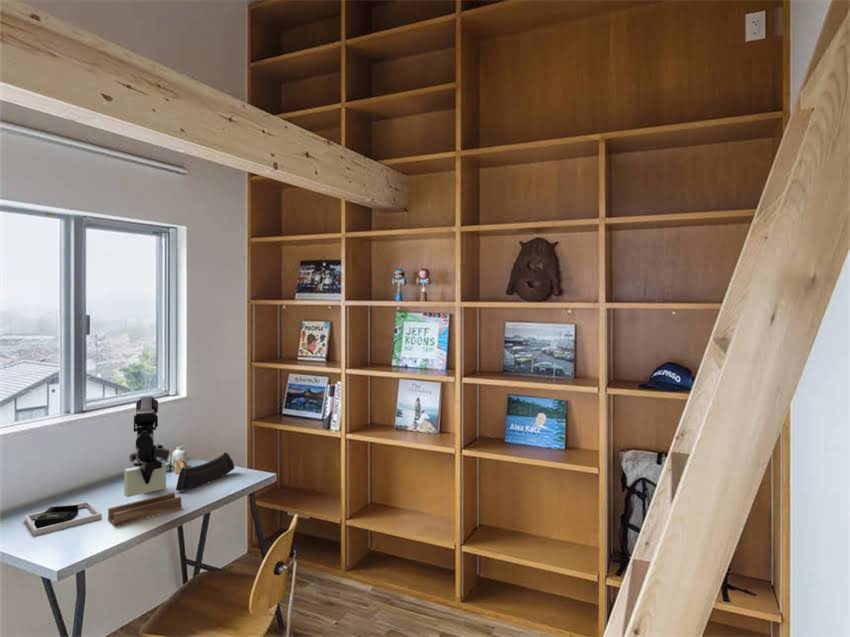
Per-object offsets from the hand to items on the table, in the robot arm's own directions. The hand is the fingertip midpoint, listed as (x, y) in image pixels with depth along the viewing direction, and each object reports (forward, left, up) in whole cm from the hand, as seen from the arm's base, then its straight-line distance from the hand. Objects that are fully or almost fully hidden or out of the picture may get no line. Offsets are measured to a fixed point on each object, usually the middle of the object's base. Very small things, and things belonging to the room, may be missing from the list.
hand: (145, 482), depth 205 cm
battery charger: (-16, -26, -13) cm, 33 cm away
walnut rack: (0, 0, -13) cm, 13 cm away
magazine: (-19, +32, -13) cm, 39 cm away
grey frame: (-16, -24, -12) cm, 31 cm away
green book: (0, 0, -4) cm, 4 cm away
